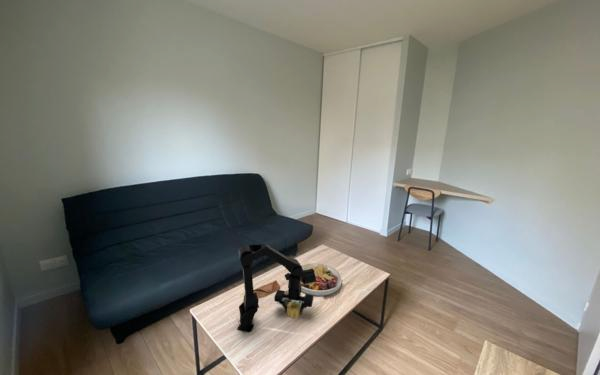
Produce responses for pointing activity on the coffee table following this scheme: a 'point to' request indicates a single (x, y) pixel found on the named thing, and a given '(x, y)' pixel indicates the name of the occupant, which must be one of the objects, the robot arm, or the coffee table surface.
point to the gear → (293, 309)
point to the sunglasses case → (267, 289)
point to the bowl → (322, 280)
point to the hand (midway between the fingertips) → (293, 312)
